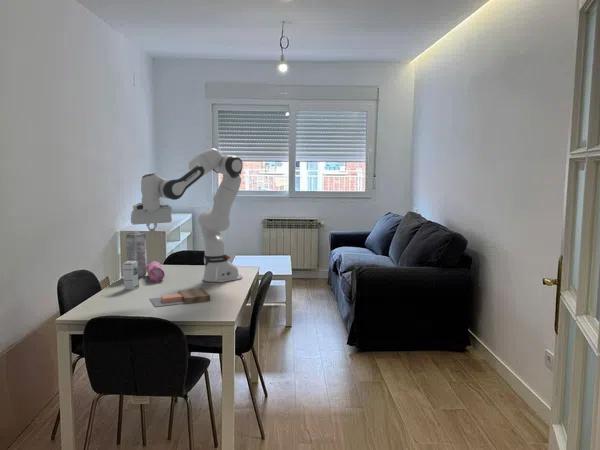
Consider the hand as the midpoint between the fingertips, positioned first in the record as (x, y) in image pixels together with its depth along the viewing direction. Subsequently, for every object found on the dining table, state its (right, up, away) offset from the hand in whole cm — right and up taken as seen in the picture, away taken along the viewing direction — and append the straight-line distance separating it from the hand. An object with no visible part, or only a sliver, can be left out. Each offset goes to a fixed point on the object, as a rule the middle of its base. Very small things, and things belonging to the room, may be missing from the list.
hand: (152, 232), depth 267 cm
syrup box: (-14, -30, +10) cm, 35 cm away
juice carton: (-20, -27, +41) cm, 53 cm away
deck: (+24, -32, -12) cm, 42 cm away
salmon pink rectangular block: (+14, -33, -16) cm, 39 cm away
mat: (+12, -33, -17) cm, 39 cm away
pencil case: (-8, -28, +34) cm, 45 cm away
